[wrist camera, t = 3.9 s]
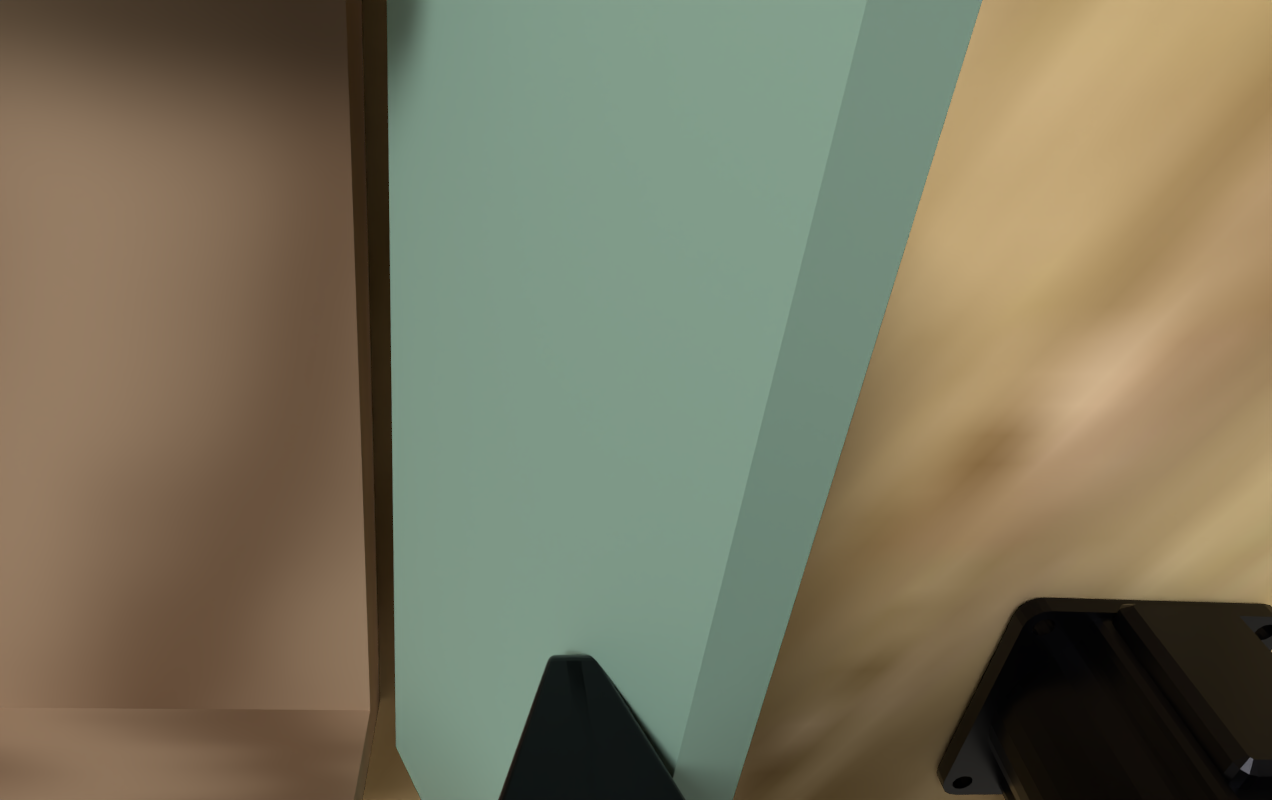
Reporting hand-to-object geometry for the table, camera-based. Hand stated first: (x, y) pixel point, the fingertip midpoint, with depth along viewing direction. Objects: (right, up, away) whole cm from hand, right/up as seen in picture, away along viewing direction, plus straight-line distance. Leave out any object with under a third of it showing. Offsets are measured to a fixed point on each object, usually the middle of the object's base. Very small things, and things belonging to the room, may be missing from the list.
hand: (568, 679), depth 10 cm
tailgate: (-3, +3, +4) cm, 6 cm away
